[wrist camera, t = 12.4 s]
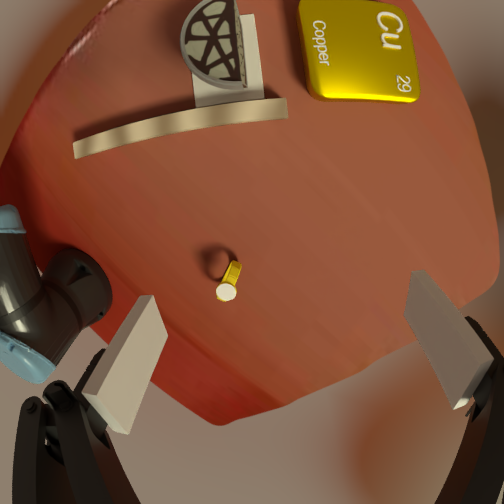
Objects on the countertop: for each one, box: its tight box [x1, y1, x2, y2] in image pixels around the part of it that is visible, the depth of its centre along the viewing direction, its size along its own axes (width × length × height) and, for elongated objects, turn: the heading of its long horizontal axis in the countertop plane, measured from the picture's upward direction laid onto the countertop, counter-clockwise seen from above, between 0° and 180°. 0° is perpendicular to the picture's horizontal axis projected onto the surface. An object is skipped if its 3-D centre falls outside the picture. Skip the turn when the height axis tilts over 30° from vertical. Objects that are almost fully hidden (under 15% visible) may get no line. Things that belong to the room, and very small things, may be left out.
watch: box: [216, 260, 242, 302], centre depth 40 cm, size 6×3×6 cm, turn 155°
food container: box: [180, 0, 248, 90], centre depth 25 cm, size 12×6×10 cm, turn 5°
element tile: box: [296, 0, 421, 104], centre depth 26 cm, size 15×15×5 cm
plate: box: [192, 14, 265, 108], centre depth 30 cm, size 9×13×1 cm
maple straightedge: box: [73, 98, 288, 159], centre depth 32 cm, size 30×3×4 cm, turn 96°
